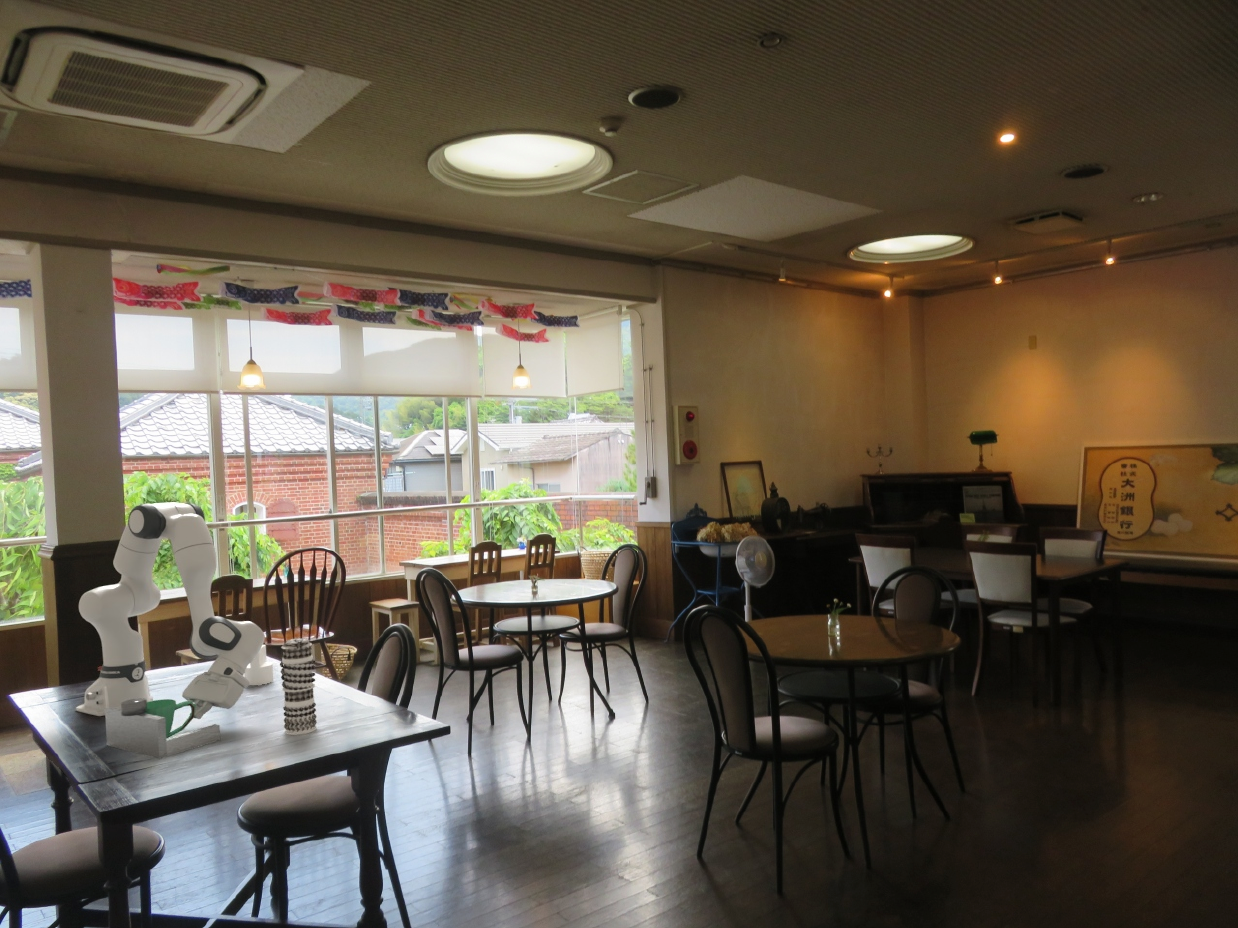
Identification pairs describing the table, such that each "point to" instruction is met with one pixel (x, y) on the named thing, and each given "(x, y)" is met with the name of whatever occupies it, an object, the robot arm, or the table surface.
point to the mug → (169, 713)
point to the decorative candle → (298, 687)
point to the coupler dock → (150, 731)
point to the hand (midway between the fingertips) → (194, 717)
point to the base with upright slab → (259, 669)
